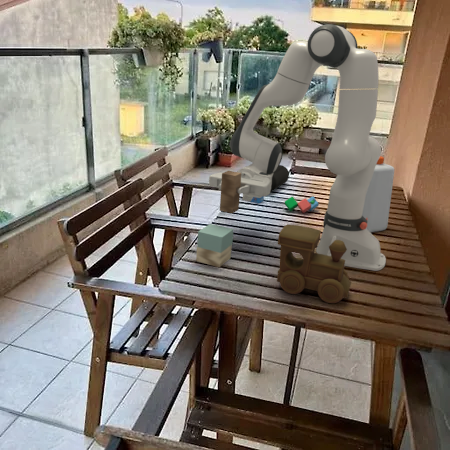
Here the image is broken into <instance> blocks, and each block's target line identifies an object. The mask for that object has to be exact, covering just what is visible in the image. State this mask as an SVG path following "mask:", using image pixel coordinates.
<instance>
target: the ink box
mask: <svg viewBox="0 0 450 450" xmlns="http://www.w3.org/2000/svg"><path fill="white" fill-rule="evenodd" d="M264 199H265V196H264V197H263V196H257V195H252V194H243V193H242V201H246V202H250V203H255V204H261V203H264Z"/></svg>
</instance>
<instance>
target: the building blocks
mask: <svg viewBox="0 0 450 450" xmlns="http://www.w3.org/2000/svg"><path fill="white" fill-rule="evenodd" d="M284 205H285V207H286V208H287V209H288V211H290V212H292V211H293V210H295V209H297V208H298V210H300V211H301V213H302V214H305V213H306V212H308V211H310V212H311V211H313V210H314V209H316V208H317V207H319V205H320V203H319V202H318V201H317V200H316V198H315V195H314V196H311V197H309V198H303V199H302V200H300V201H299V202H298V201H297V200H296V198H295V197H294V196H291V197H289V198H287V199H286V200H285V201H284Z"/></svg>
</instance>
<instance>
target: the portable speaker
mask: <svg viewBox="0 0 450 450" xmlns="http://www.w3.org/2000/svg"><path fill="white" fill-rule="evenodd" d="M289 179H290V172H289V169H288V168H287V167H286V166H284V165H281V164H280V165H279V167H278V169H277V170H276V171H275V172H274V173H273V176H272V184H271V191H270V194H271V193H272V192H274V191H276V190H277V189H278V188H279V187H281V186H282V185H284V184H286V183H287V182H288V180H289Z"/></svg>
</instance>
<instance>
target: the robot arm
mask: <svg viewBox="0 0 450 450" xmlns="http://www.w3.org/2000/svg"><path fill="white" fill-rule="evenodd" d="M357 41H358V40H357V39H356V37H355V35H354V34H353V33H352V32H351V31H349V30H348V29H346V28H345V27H342V26H340V25H334V24H331V23H326V24H323V25H319V26H318V27H316V28H315V29H314V30H313V31H311V33H310V34H309V37H308V39H307V40H296V41H293V42H292V43H291V44H290V45H289V47H288V48H287V50H286V51H285V54H284V56H283V57H282V60H281V62H280V64H279V66H278V69H277V73H276V74H275V76H274V78H273V79H272V81H270V82H269V83H268V84H264V85H263V86H261V87H260V89H259V90H258V91H257V93H256V95H255V96H254V98H253V100H252V101H251V103H250V105H249V107H248V109H247V111H246V112H245V115H244V116H243V118H242V120H241V122H240V123H239V125H238V126H237V128H236V130H235V131H234V133H233V134H232V136H231V138H230V141H229V148H230V151H231V153H232V154H233V156H236V157H238V158H241V159H245V160H246V161H249V162H250V164H249V165H246V166H244V167H242V168H240V169H238V170H236V172H239V173H241V186H240V187H237V188H236V193H238V194H240V195H243V194H252V195H257V196H263V197H264V198H265V197H267V196H269V195H270V194H271V193H270V191H271V184H272V176H273V173H274V172H275V171H276V170H277V169H278V167H279V165H281V163H282V160H283V149H282V146H281V144H280V143H278V142H277V141H274V140H272V139H271V138H269V137H266V136H263V135H261V134H260V133H257V132H255V131H254V128H255V126H256V124H257V122H258V121H259V119H260V117H261V115H262V113H263V112H264V111H265V109H266V108H268V107H272V106H278V107H279V106H281V107H282V106H283V107H286V106H293V105H296V104H298V103H300V102H301V101H302V100H303V99H305V96H306V94H307V92H308V91H309V87H310V85H311V82H312V80H313V77H314V75H315V73H316V71H317V70H318V69H319V68H320V67H322V66H324V67H331V68H334V69H335V68H336V69H337V70H338V74H339V87H338V88H339V89H338V90H339V91H338V92H339V93H338V105H337V106H338V109H337V118H336V122H335V126H334V131H333V134H332V138H331V141H330V145H329V146H328V148H327V150H326V152H325V155H324V163H325V166H326V167H327V169H328V171H330V172H331V173H332V174H335V175H336V177H335V179H334V181H333V183H332V185H331V187H330V189H329V190H330V191H329V194H328V195H329V196H328V203H327V209H326V211H325V213H324V216H323V217H324V218H323V223H322V224H323V226H322V227H323V230H322V232H321V235H320V240H319V243H318V245H317V246H316V248H315V252H316V253H317V254H323V255H328V256H331V253H330V249H329V246H330V245H331V244H332V243H333V242H334V241H335V240H341V241H343V242H344V244H345V246H346V248H347V250H346V252H345V253H344V254H343V256H342V257H341V259H344V260H345V265H344V267H350V268H357V269H363V270H368V271H369V270H370V271H373V272H374V271H381V270H382V269H384V267H385V266H386V262H387V261H386V260H387V258H386V256H385V254H383V253H382V252H381V245H380V244H381V243H380V241H379V239H378V238H376V236H374V235H373V233H372V232H369V231H368V230H367V229H366V227H367V222H368V221H367V220H368V219H367V218H366V219H365V218H364V217H363V216H362V212H363V207H364V202H365V197H366V193H367V189H368V186H369V184H370V181H371V178H372V176H373V173H374V170H375V166H376V163H377V161H378V159H379V158H380V156H382V155H381V154H382V145H381V144H380V142H379V141H378V140H377V139H376V138H374V137H372V136H370V134H371V131H372V127H373V123H374V121H375V119H376V117H377V106H378V96H379V79H380V78H379V63H378V57H377V55H376V54H375V52H373V51H372V50H369V49H366V48H358V42H357ZM222 173H223V172H215V173H213V174H210V175H209V179H208V185H209V186H210V187H213V188H218V190H219V191H221V182H222Z"/></svg>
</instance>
